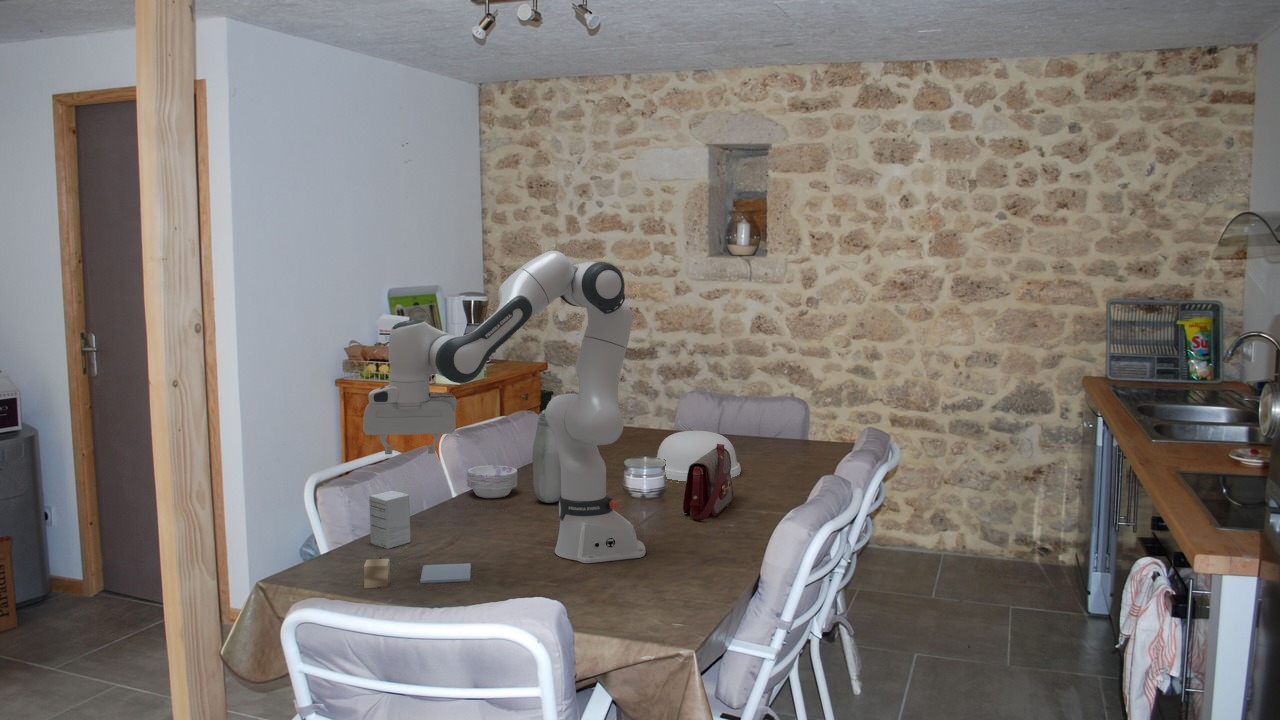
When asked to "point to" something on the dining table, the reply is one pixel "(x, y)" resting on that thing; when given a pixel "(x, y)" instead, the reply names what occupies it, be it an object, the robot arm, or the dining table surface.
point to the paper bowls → (492, 480)
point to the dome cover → (692, 452)
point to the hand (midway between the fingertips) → (410, 453)
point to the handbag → (709, 484)
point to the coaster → (446, 573)
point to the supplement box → (389, 519)
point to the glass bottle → (546, 463)
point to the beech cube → (376, 573)
